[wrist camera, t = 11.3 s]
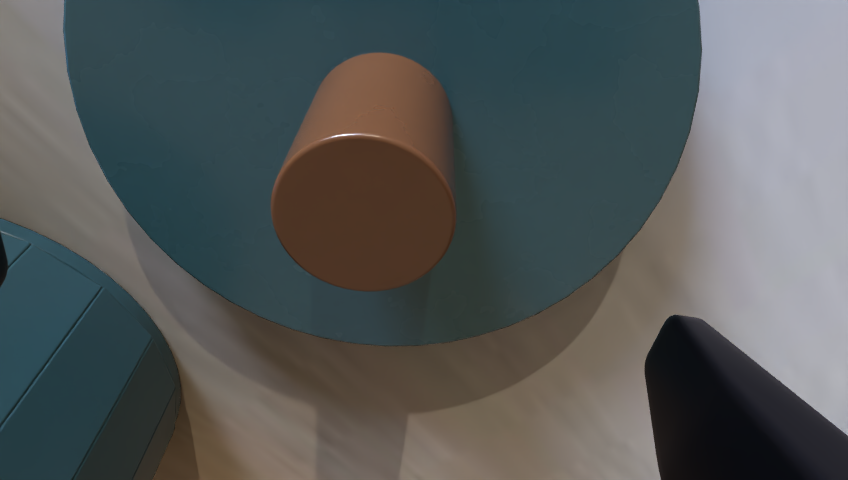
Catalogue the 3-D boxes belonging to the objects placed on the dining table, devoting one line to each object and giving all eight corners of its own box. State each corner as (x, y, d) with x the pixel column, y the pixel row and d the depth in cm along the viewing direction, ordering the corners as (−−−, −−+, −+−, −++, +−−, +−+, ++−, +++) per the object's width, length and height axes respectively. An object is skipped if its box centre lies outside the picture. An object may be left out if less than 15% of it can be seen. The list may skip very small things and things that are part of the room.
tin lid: (149, -449, 9) (-101, -681, 5) (822, -59, 12) (1032, 6, 8) (60, 219, 16) (-79, 361, 12) (504, 372, 19) (523, 532, 15)
